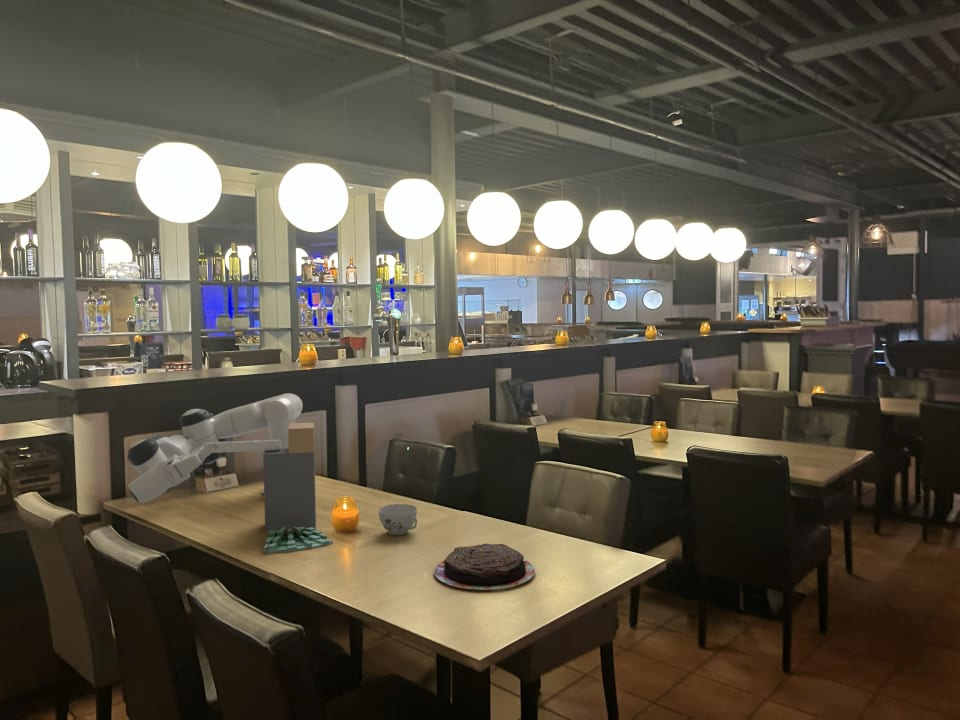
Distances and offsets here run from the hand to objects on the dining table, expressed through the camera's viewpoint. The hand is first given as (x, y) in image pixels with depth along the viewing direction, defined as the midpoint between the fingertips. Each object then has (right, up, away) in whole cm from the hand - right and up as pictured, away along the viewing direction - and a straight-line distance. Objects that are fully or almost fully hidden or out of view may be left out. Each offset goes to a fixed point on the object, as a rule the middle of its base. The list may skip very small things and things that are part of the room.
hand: (216, 445), depth 241 cm
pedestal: (+23, -28, +7) cm, 37 cm away
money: (+28, -30, -13) cm, 43 cm away
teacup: (+60, -28, -2) cm, 67 cm away
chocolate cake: (+87, -31, -38) cm, 100 cm away
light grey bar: (+8, -2, +2) cm, 8 cm away
